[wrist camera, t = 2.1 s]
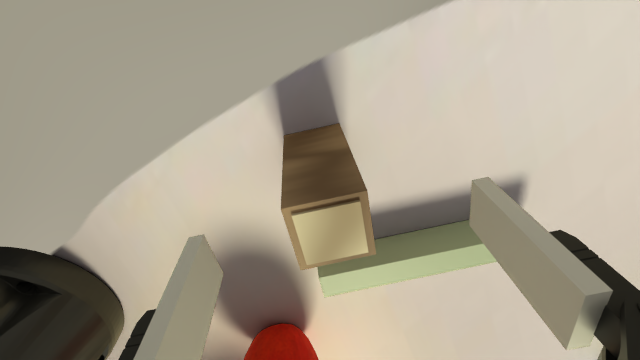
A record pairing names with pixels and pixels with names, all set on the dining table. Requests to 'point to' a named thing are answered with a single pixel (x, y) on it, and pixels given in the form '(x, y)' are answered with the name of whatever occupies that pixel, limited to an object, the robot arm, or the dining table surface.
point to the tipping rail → (407, 259)
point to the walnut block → (324, 199)
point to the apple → (281, 344)
